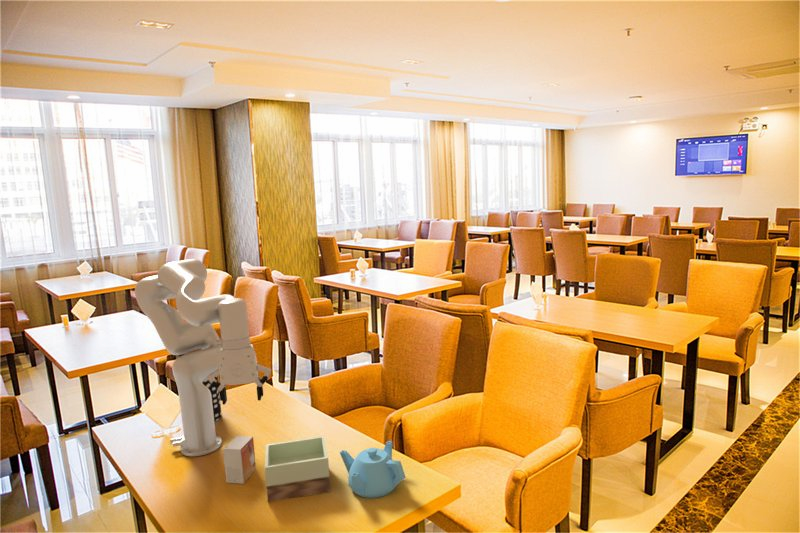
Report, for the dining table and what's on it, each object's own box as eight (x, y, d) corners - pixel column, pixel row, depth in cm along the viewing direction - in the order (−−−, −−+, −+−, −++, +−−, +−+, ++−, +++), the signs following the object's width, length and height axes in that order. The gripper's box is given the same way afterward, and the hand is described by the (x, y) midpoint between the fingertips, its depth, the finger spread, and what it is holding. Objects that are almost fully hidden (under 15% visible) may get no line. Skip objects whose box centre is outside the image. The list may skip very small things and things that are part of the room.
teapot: (351, 507, 138) (348, 469, 136) (341, 477, 152) (338, 442, 150) (408, 495, 142) (406, 458, 140) (392, 467, 156) (391, 432, 154)
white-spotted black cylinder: (207, 425, 189) (201, 371, 186) (192, 420, 193) (186, 367, 190) (226, 416, 196) (221, 363, 193) (211, 411, 200) (205, 360, 197)
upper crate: (266, 486, 141) (264, 467, 140) (267, 461, 154) (265, 444, 153) (329, 476, 145) (328, 458, 144) (325, 452, 157) (324, 435, 156)
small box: (244, 484, 151) (240, 449, 149) (225, 483, 152) (222, 448, 150) (257, 469, 159) (253, 436, 157) (239, 468, 160) (236, 435, 158)
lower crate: (268, 502, 142) (266, 486, 141) (268, 476, 154) (267, 461, 154) (330, 491, 145) (329, 476, 145) (326, 466, 158) (325, 452, 157)
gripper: (201, 349, 145) (208, 409, 147) (266, 343, 147) (272, 402, 150) (206, 341, 152) (213, 398, 155) (269, 336, 154) (274, 392, 157)
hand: (242, 400), depth 152 cm, fingers open, 9 cm apart
